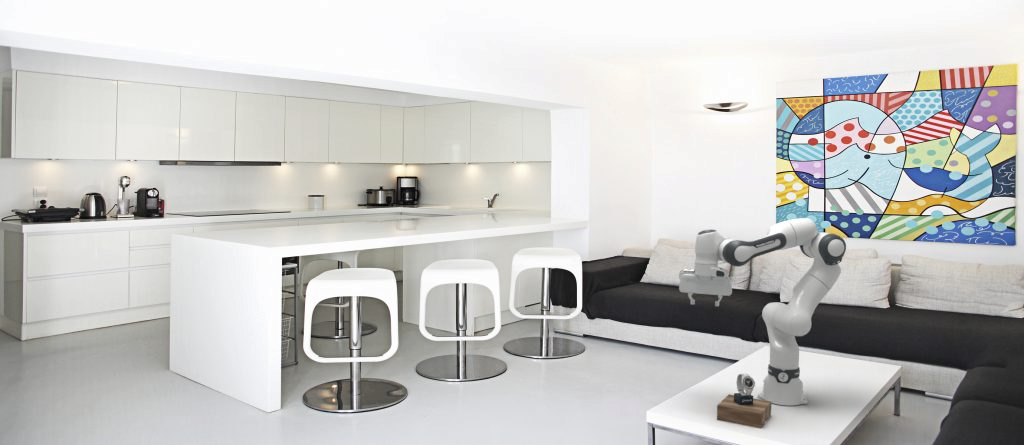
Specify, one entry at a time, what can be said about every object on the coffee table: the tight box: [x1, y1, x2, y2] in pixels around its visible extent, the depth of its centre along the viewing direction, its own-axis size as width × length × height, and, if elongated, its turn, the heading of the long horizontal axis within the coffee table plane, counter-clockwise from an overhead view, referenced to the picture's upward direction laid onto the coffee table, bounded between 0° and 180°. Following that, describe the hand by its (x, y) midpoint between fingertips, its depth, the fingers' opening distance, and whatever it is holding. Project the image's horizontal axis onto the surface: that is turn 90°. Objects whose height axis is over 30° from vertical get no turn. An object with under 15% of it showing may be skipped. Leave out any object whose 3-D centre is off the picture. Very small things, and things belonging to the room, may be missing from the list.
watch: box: [733, 373, 756, 405], centre depth 272 cm, size 6×8×11 cm
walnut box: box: [716, 394, 772, 429], centre depth 272 cm, size 16×16×6 cm
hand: (704, 305), depth 288 cm, fingers open, 8 cm apart
